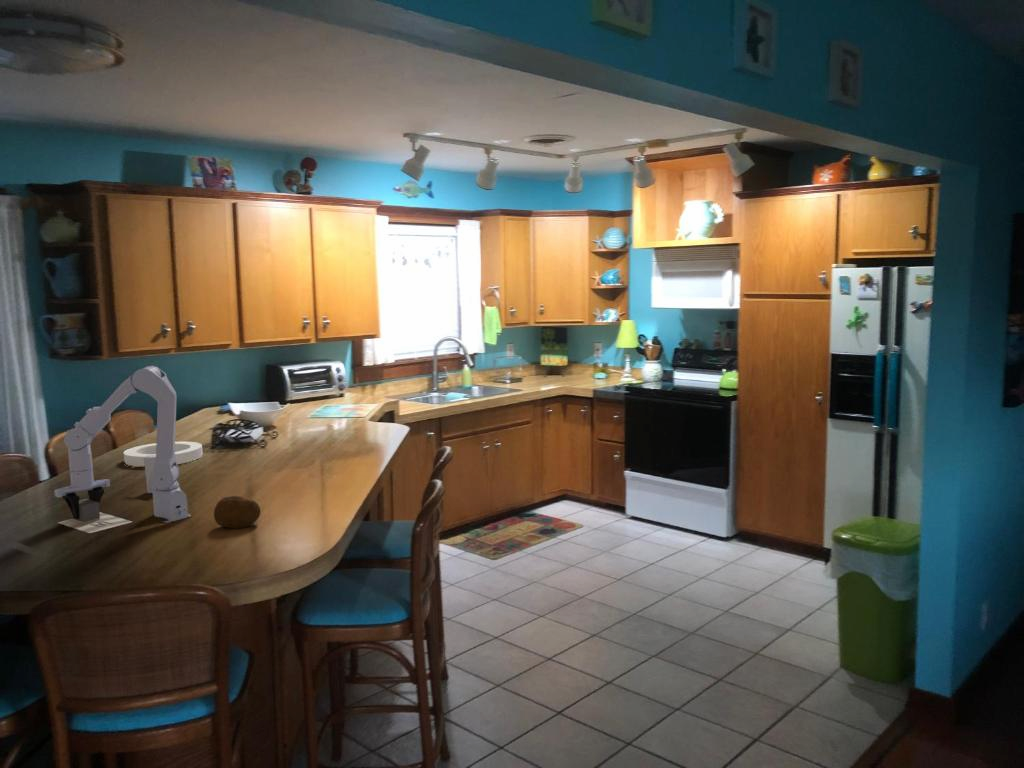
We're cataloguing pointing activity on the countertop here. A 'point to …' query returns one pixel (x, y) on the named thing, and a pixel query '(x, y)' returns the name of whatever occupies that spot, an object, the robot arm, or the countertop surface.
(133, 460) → the white flat ring
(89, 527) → the board
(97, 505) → the block
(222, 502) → the potato
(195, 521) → the countertop surface
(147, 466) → the skincare box
